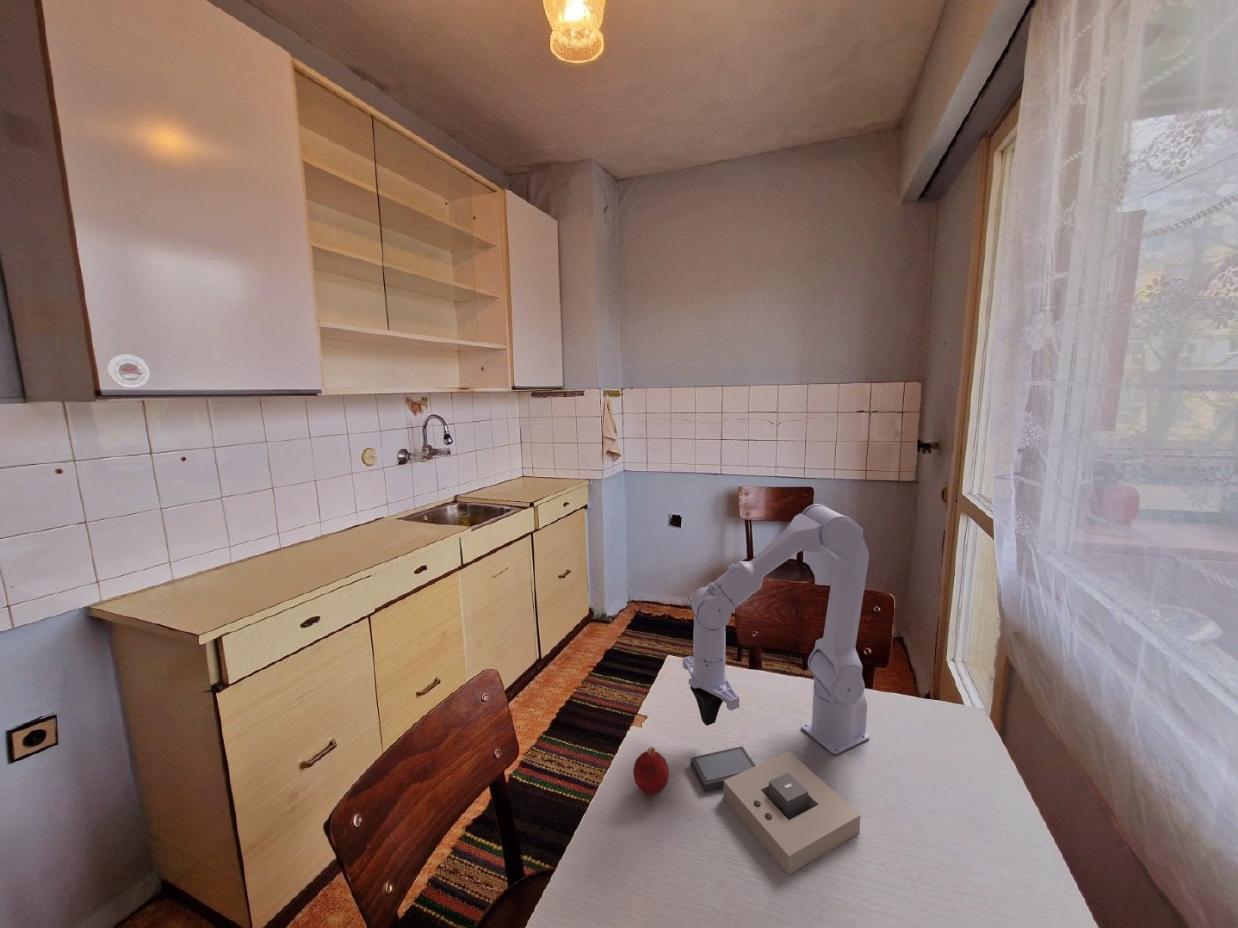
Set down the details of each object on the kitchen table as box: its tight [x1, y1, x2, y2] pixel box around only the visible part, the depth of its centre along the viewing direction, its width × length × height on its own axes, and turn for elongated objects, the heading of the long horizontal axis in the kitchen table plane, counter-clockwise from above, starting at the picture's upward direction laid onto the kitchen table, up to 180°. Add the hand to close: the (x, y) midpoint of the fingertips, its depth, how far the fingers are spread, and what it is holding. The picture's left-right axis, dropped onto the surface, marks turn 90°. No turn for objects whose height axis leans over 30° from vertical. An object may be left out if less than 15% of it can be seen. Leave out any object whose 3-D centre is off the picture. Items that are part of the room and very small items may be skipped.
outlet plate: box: [722, 751, 861, 876], centre depth 73 cm, size 14×14×3 cm
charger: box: [768, 773, 808, 820], centre depth 73 cm, size 4×4×5 cm
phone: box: [690, 746, 756, 794], centre depth 81 cm, size 10×6×2 cm, turn 104°
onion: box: [632, 746, 670, 796], centre depth 77 cm, size 6×6×8 cm
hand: (708, 721), depth 88 cm, fingers closed
